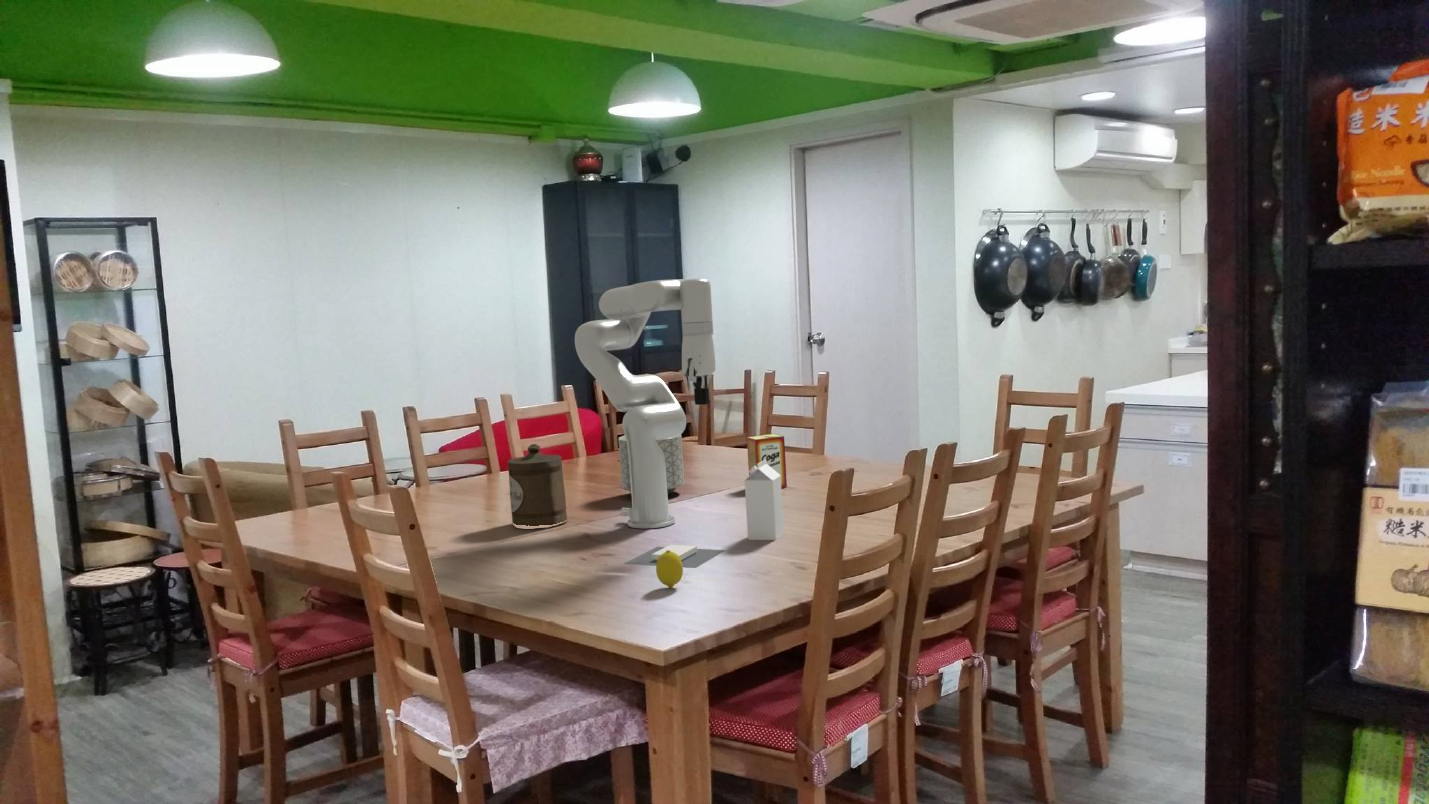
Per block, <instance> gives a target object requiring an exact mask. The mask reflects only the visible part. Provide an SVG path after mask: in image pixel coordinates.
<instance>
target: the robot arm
mask: <svg viewBox="0 0 1429 804" xmlns="http://www.w3.org/2000/svg"><path fill="white" fill-rule="evenodd" d="M712 305H713V304H712V289H711V283H710V281H709V280H708V279H706V278H691V279H689V278H688V279H687V278H681V279H679V278H678V279H659V280H658V279H657V280H649V281H644V282H638V283H634V284H631V285H626V286H620V287H614V288H610V289H608V290H606V291H605V292H604V293H603V294H602V295H601V297H600V298H599V302H598V306H599V307H598V308H599V310H600V313H602V315H603V316H604V317H606V318H607V319H597V320H590V321H587V322H585V323H583V324H581V325H580V326H579V327H577V329H576V331H575V334H574V346H575V350H576V354H577V356H578V358H579V360H580V362H581V364H582V365H583V366H584V367H585V368H586V370H587V371H588V372H589V373H590V374H591V375H592V376H593V377H594V378H595V381H597V383H598V384H599V386H600V388H601V389H602V390H603V392H604V393H605V395H606V396H607V398H608V399H609V401H610V402H611V404H612V406H613V407H614V408H615V409H616V410H617V411H619V412H622V413H625V414H624V415H623V418H622V429H623V434H624V436H625V438H626V442H627V447H628V454H629V467H630V480H631V492H630V493H631V506H632V507H621V510H620V516H622V517H629V519H628V520H627V526H628V527H630V528H633V529H657V528H663V527H668V526H672V525H673V524H675V522H676V519H675V517H674V516H673V515H670V514H669V513H670V512H669V510H670V509H669V498H668V497H669V494H668V495H667V480H666V465H665V456H664V453H663V451H662V449H661V448H660V446H659V445H658V443H657V441H656V440H660V439H665V438H671V437H675V436H678V435H680V434H681V435H682V434H683V433H684V431H685V430H686V428H687V427H686V426H687V417H686V416H687V415H686V413H685V412H684V409H683V408H682V406H681V404H680V403H679V401H678V400H677V399H676V397H675V395H674V394H673V393H672V391H671V390H670V388H669V387H668V385H667V384H666V383H665V381H664V380H663V379H661V378H660V377H659V376H658V375H655V374H651V373H650V374H649V373H647V374H637V375H636V374H632V373H631V372H630V371H629V370H628V369H627V367H626V365H625V364H624V363H623V361H621V360H620V359H619V358H618V357H616V356H615V355H613V354H611V353H610V352H608V351H615V350H625V349H629V348H631V347H634V346H635V344H636V343H637V342H638V340H639V338H640V336H641V334H642V332H643V330H644V328H645V326H646V325H647V323H648V320H649V318H650V316H651V313H653V312H664V311H679V310H680V313H681V314H680V315H681V316H680V317H681V328H682V329H681V330H682V342H681V343H682V344H681V373H682V374H681V375H682V376H683V377H686V378H688V382H689V383H691V384H692V388H693V394H694V395H693V396H694V405H696V406H699V405H700V406H701V405H702V406H703V405H709V404H710V391H709V387H710V380H711V379H712V378H713V374H714V372H715V371H716V356H715V347H714V340H713V335H714V325H713V324H714V322H713V321H714V320H713V306H712Z"/></svg>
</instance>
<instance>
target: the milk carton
mask: <svg viewBox="0 0 1429 804" xmlns="http://www.w3.org/2000/svg"><path fill="white" fill-rule="evenodd" d="M749 472H750V473H751V475H750V476H749V475H748V476H747V478H746V479H745V480H744V492H745V493H744V494H745V510H746V529H747V531H746V532H747V540H751V541H753V540H755V541H756V540H759V541H777V540H778V539H779V538H781V536H784V533H785V531H784V514H783V513H784V512H783V496H782V493H783V492H782V488H781V475H780V474H778V473H777V472H776V471H775V470H774V469H772V468H771V467H770V466H769V465H768V464H767V463H766V459H765V460H763V461H761V462H760V463H758V464H757V467H756V466H754V467H753V468H751V469H750V470H749V469H748V473H749Z"/></svg>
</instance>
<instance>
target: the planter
mask: <svg viewBox="0 0 1429 804" xmlns="http://www.w3.org/2000/svg"><path fill="white" fill-rule="evenodd" d="M682 438H683V437H682V433H681V434H680V435H678V436H675V437H671V438H665V439H660V440H656V441H657V443H658V445H659V446H660V448H661V449H662V451H663V453H664V456H665V465H666V480H667V495H668V496H669V494H672V493H673V492H675V490H677V488H679V487H682V486H683V485H685V472H684V457H683V455H684V454H683V442H682V441H683V440H682ZM617 439H618V451H619V452H618V453H619V454H618V455H619V466H620V479H621V480H620V482H621V483H620V484H621V489H622V490H623V491H627V492H630V493H631V480H630V467H629V454H628V447H627V442H626V438H625V435H622V436H620V437H618V438H617Z"/></svg>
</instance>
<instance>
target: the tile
mask: <svg viewBox="0 0 1429 804" xmlns="http://www.w3.org/2000/svg"><path fill="white" fill-rule="evenodd" d="M664 547H665V548H663V549H661V550H659V551H657V552H655V553H653V554H652V559H653V561H657V560H658V558H659V557H660V555H661V554H663V553H665V552H666V551H667V550H670V551H671V552H674V553H676V554H677V555H678V556H679V557H680V559H681V561H683V560H685V559H687V558H688V557H690V556H692V555H694V554H696V552H697V549H698V547H697V545H678V544H669V545H667V546H664Z"/></svg>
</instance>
